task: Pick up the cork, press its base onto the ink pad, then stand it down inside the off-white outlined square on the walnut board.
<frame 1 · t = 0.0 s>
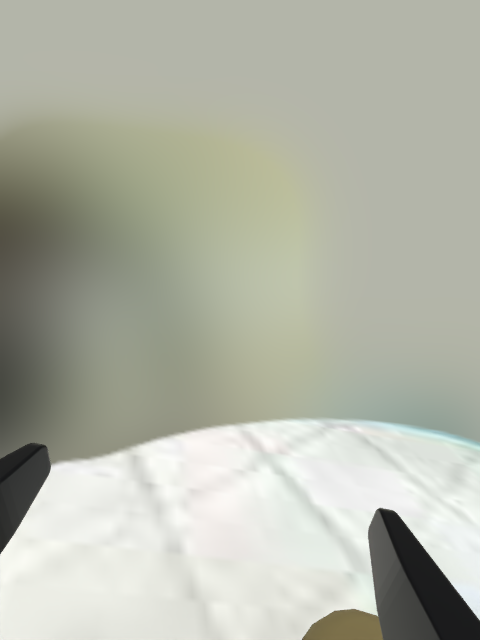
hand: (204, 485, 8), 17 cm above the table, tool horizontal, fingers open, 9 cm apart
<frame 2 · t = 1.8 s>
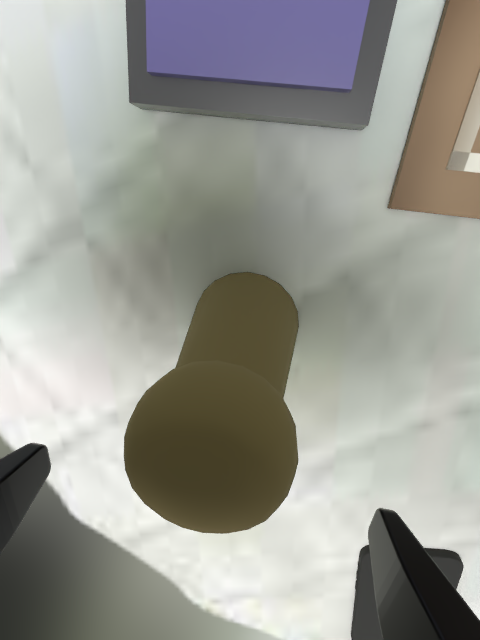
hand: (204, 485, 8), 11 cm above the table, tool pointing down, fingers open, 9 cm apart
phone: (397, 594, 27), on the table
cork: (246, 321, 18), on the table
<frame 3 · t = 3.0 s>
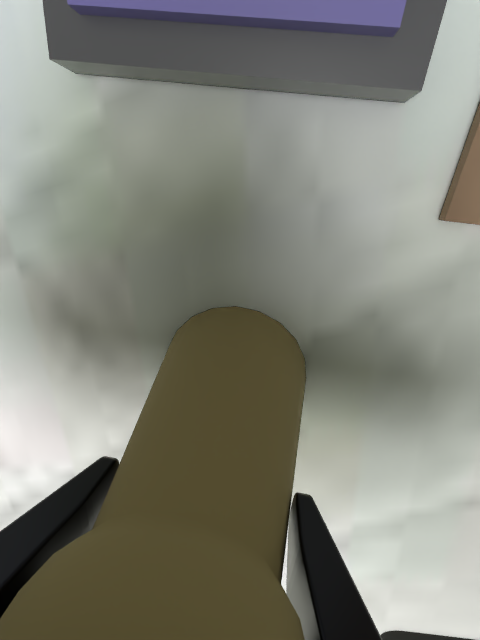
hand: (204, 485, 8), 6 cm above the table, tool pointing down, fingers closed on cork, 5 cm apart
cork: (235, 369, 13), on the table, touching gripper
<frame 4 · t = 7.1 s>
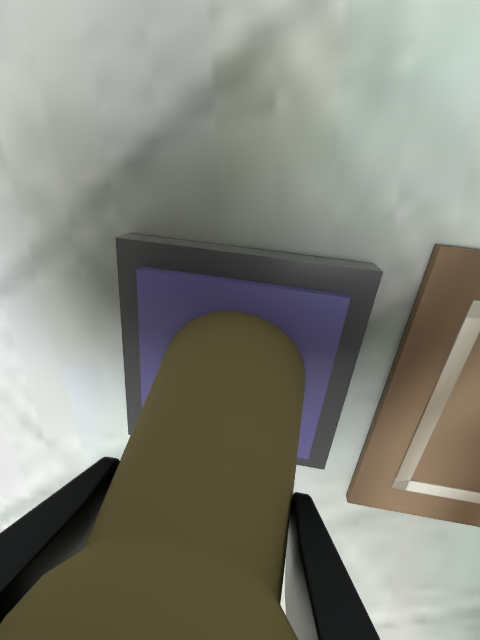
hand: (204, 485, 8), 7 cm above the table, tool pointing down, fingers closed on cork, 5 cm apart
ink pad: (236, 354, 15), on the table
cork: (233, 374, 13), point 2 cm above the table, touching gripper, ink pad
when the fingers open (7 cm above the table, at t = 11.1 s): cork drops 1 cm, resting on marked board.
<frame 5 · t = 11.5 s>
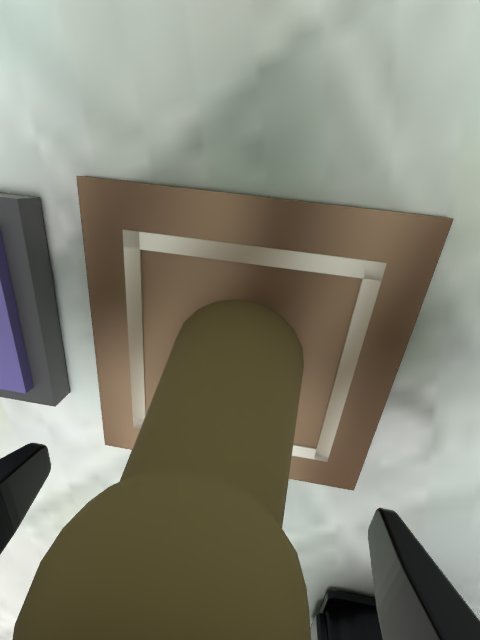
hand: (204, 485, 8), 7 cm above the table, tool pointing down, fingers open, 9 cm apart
marked board: (238, 354, 15), on the table
cork: (238, 358, 14), resting on marked board
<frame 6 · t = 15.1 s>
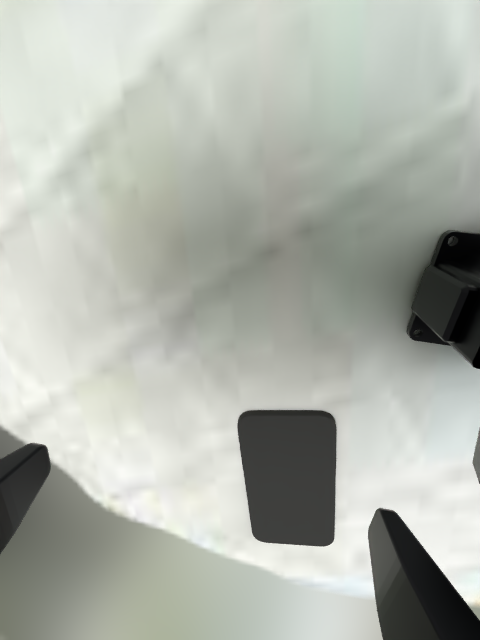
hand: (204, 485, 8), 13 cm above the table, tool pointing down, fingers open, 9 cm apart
phone: (289, 477, 26), on the table
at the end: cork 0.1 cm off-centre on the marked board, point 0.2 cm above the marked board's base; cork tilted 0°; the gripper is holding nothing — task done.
